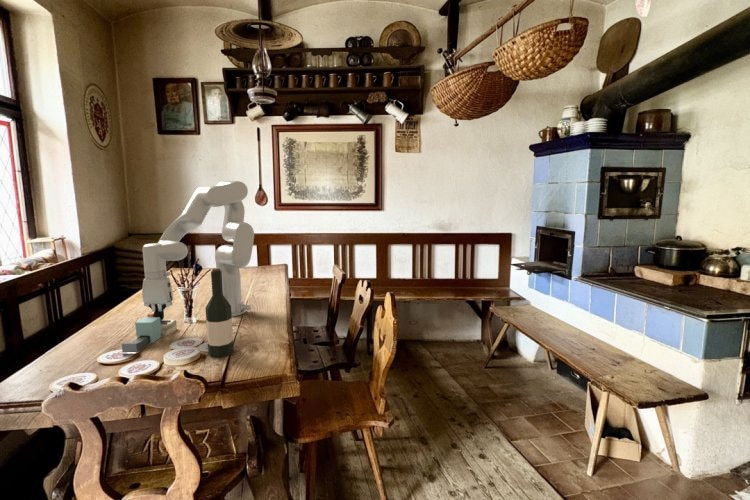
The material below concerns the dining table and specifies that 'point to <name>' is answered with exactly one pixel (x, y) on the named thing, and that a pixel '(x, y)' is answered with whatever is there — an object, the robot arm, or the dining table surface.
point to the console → (167, 327)
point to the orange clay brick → (151, 315)
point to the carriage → (149, 328)
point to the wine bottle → (219, 319)
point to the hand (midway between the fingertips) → (159, 320)
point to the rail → (136, 344)
